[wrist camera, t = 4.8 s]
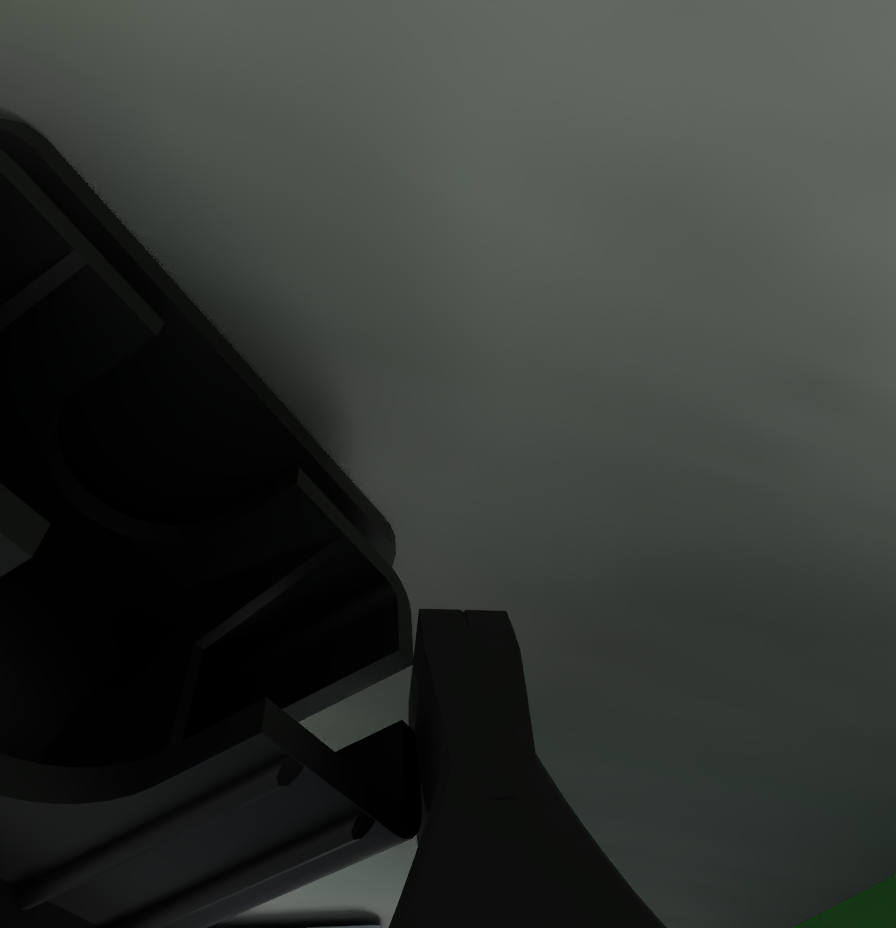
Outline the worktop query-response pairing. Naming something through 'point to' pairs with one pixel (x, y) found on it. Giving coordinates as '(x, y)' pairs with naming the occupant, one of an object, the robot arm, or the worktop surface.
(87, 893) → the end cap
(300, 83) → the worktop surface
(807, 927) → the green box
